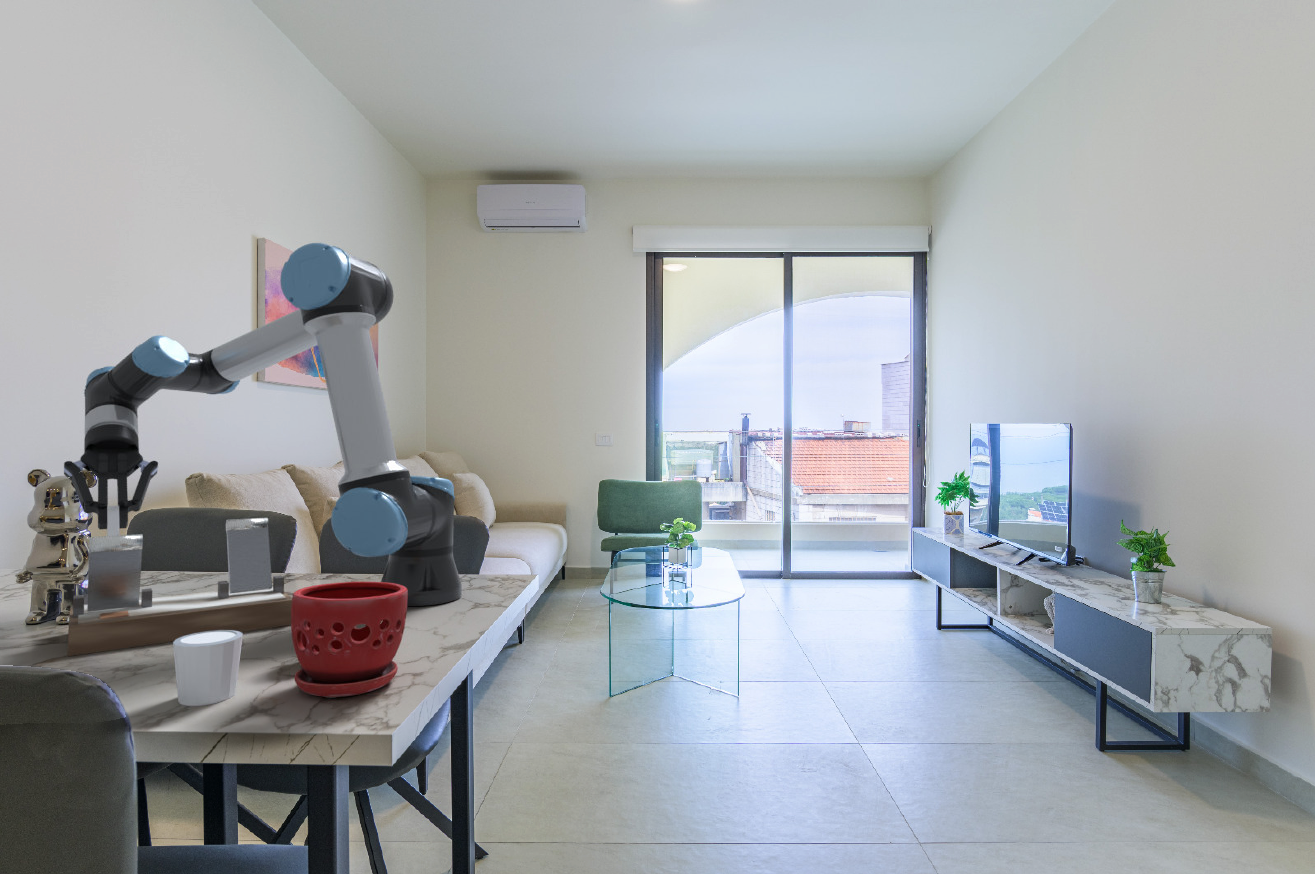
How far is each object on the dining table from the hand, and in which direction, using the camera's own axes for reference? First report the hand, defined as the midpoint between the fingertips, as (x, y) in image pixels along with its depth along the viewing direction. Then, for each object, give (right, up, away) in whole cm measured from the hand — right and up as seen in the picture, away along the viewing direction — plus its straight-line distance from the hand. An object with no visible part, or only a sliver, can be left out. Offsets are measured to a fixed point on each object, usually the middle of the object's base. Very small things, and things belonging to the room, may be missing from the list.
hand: (113, 542), depth 110 cm
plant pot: (+48, -14, -24) cm, 56 cm away
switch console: (+12, -13, -1) cm, 18 cm away
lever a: (+19, -9, +5) cm, 22 cm away
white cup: (+34, -14, -29) cm, 46 cm away
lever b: (+5, -9, -7) cm, 12 cm away
